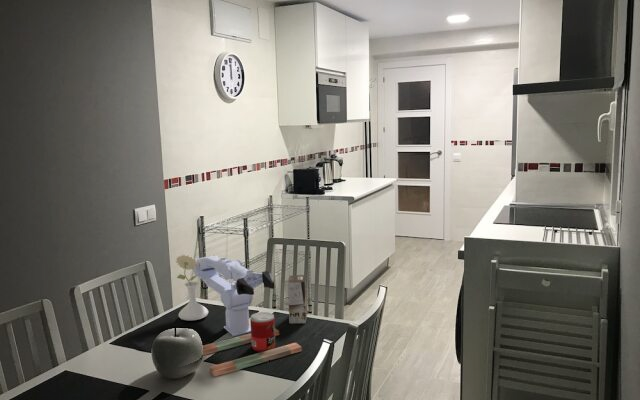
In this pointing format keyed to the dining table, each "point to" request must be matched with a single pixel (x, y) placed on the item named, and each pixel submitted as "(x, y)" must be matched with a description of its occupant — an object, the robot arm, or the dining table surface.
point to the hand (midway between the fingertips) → (263, 288)
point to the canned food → (262, 331)
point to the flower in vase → (190, 292)
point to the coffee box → (297, 299)
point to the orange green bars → (247, 360)
